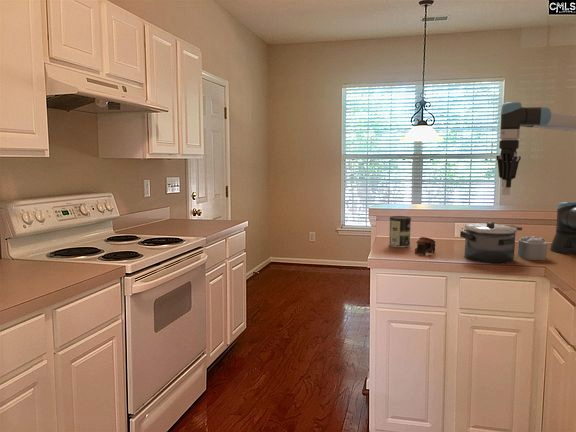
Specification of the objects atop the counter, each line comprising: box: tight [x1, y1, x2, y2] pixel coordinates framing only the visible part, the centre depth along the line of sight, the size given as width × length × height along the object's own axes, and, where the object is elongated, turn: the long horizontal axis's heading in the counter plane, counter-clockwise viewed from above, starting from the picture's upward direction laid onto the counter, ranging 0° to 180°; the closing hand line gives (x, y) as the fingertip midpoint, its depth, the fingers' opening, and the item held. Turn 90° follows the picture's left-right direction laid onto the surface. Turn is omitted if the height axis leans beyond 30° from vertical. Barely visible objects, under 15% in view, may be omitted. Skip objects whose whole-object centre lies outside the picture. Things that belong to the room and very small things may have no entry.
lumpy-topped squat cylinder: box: [517, 235, 548, 261], centre depth 214 cm, size 10×13×9 cm
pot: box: [459, 230, 516, 265], centre depth 210 cm, size 22×25×12 cm
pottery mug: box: [414, 236, 436, 256], centre depth 221 cm, size 12×10×8 cm
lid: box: [464, 221, 523, 235], centre depth 209 cm, size 24×21×3 cm
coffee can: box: [388, 215, 412, 248], centre depth 237 cm, size 10×10×14 cm
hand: (506, 194), depth 208 cm, fingers closed
